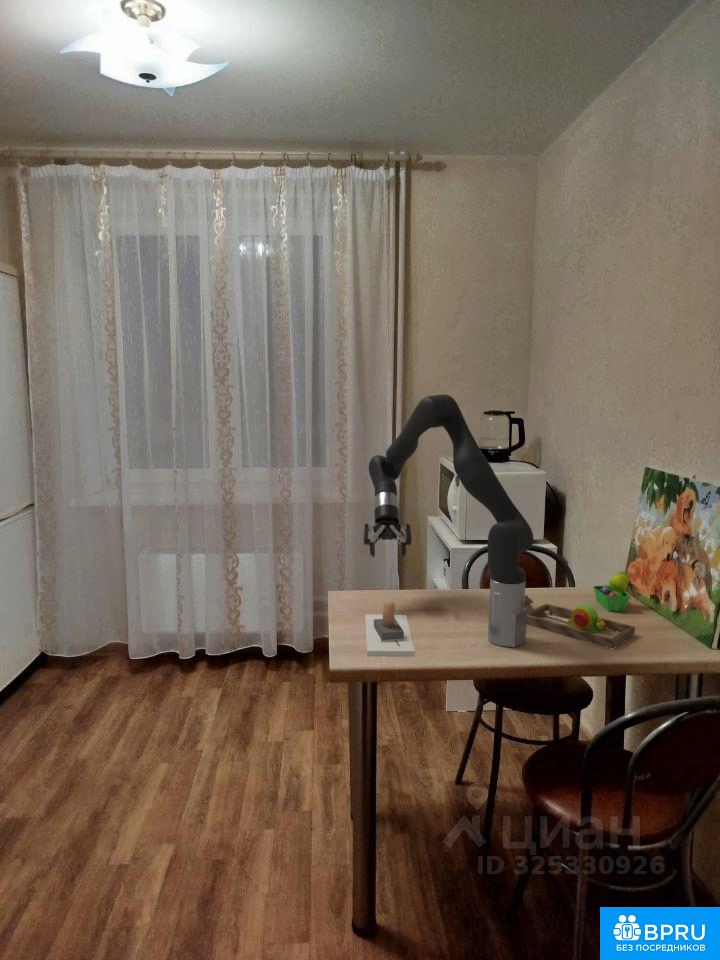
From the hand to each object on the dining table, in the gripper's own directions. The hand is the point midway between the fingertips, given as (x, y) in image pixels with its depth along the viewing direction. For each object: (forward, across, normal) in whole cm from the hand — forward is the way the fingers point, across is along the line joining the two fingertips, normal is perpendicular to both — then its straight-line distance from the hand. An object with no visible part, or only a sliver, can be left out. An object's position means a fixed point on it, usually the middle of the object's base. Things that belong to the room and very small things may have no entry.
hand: (388, 555), depth 191 cm
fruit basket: (+7, +72, +21) cm, 75 cm away
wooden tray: (+20, +54, +7) cm, 58 cm away
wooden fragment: (+4, +42, +24) cm, 48 cm away
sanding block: (+24, -1, 0) cm, 24 cm away
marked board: (+24, -1, +2) cm, 24 cm away
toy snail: (+17, +54, +10) cm, 58 cm away
